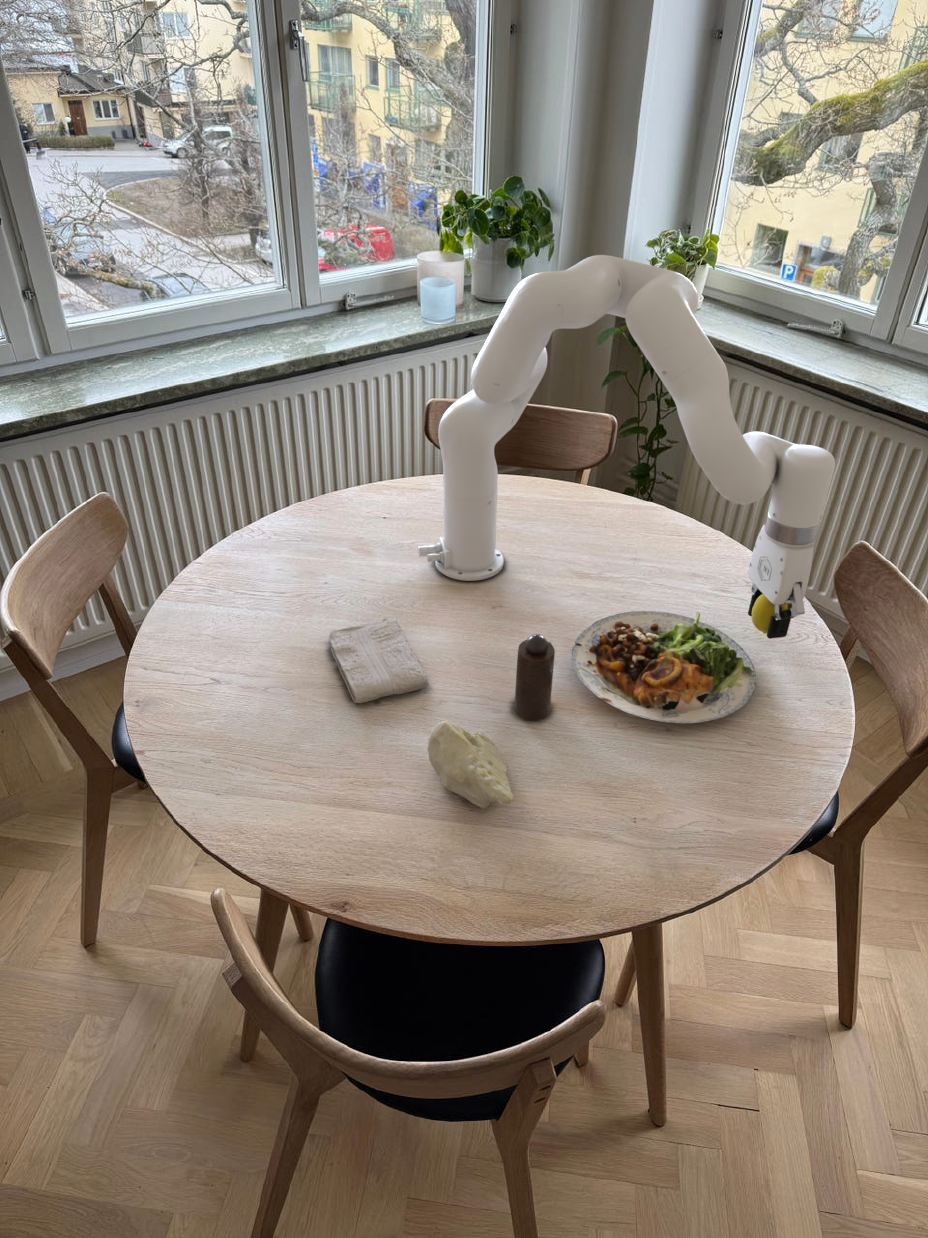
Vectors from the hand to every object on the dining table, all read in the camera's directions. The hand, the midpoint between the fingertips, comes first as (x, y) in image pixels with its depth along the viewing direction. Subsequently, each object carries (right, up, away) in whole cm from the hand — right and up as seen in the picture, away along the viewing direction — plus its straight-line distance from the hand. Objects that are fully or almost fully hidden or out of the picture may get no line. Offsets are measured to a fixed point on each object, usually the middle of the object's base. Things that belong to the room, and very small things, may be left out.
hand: (766, 624), depth 146 cm
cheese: (-46, -22, -27) cm, 58 cm away
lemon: (0, -2, +1) cm, 2 cm away
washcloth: (-63, -7, -5) cm, 63 cm away
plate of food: (-18, -8, -6) cm, 21 cm away
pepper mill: (-39, -12, -13) cm, 43 cm away
